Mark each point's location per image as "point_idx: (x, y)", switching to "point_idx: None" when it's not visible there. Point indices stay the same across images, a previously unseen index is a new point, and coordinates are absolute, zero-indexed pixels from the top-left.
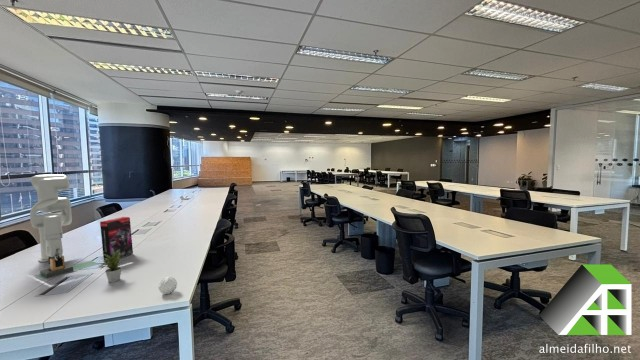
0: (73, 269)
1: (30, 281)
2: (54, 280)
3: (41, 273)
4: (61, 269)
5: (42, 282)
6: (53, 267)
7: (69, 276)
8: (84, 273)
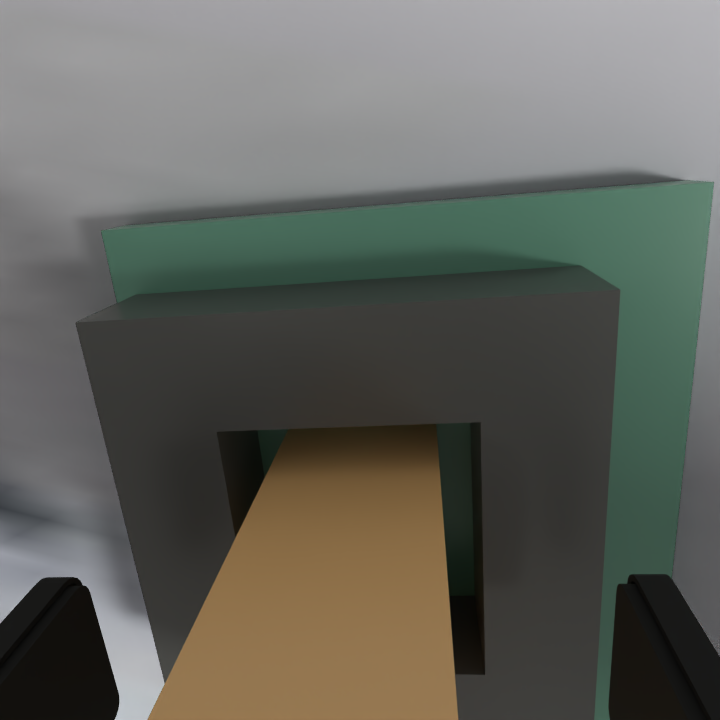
0: None
1: (402, 32)
2: (17, 356)
3: (497, 281)
4: (164, 596)
5: (71, 190)
6: (238, 544)
7: (54, 551)
8: None
